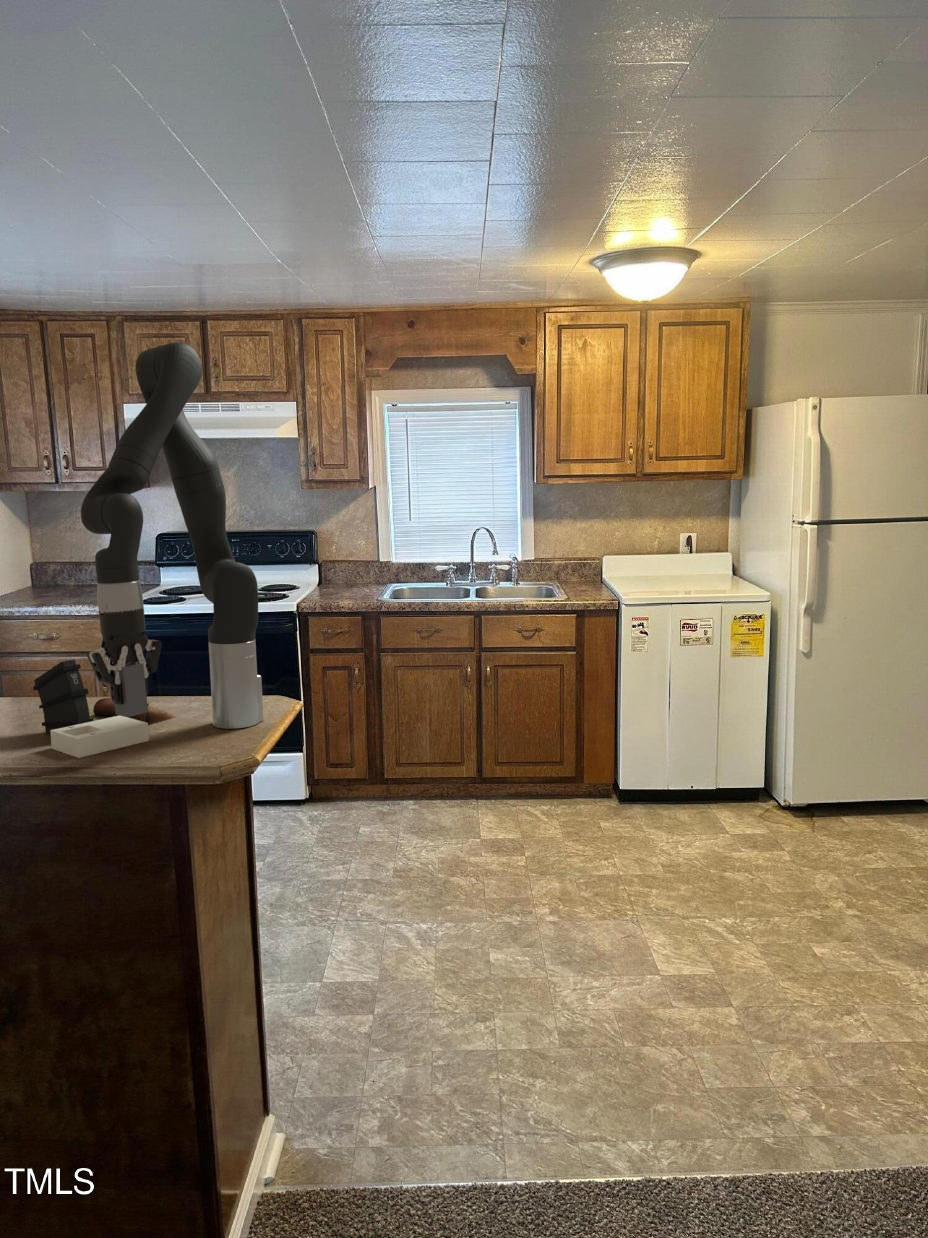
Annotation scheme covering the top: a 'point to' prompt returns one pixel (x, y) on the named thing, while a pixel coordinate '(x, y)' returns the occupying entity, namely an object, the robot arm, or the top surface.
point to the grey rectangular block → (133, 690)
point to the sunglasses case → (150, 717)
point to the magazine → (62, 696)
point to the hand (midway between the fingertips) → (130, 700)
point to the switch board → (99, 736)
